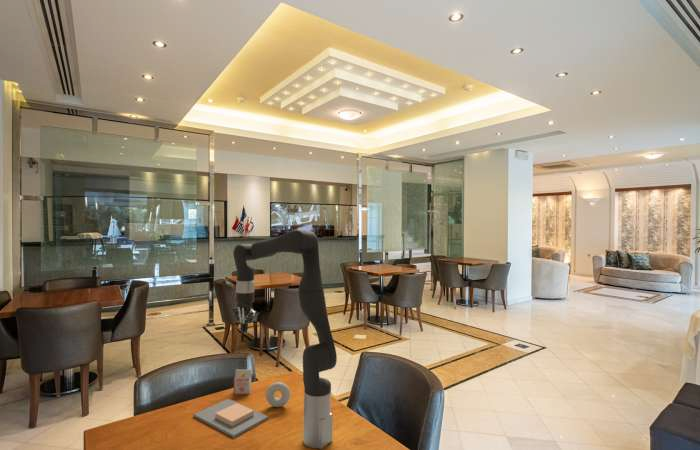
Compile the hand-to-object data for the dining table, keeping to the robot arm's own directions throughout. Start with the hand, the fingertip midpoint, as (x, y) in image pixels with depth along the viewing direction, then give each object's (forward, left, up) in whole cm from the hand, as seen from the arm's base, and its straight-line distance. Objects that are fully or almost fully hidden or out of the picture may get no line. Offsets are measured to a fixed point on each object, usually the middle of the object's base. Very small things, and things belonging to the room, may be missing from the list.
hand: (244, 331), depth 155 cm
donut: (-16, -5, -29) cm, 34 cm away
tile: (-10, +12, -27) cm, 31 cm away
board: (-8, +12, -29) cm, 32 cm away
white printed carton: (+6, -5, -29) cm, 30 cm away
